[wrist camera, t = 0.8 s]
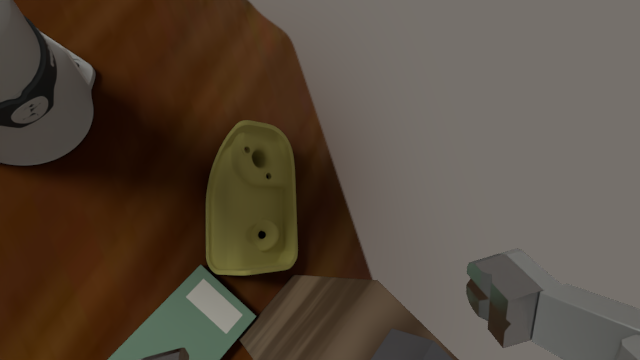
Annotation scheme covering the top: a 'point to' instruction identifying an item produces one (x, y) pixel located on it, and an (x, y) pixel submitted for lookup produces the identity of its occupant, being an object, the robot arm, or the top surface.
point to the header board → (191, 322)
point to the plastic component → (252, 203)
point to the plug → (409, 348)
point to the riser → (329, 321)
